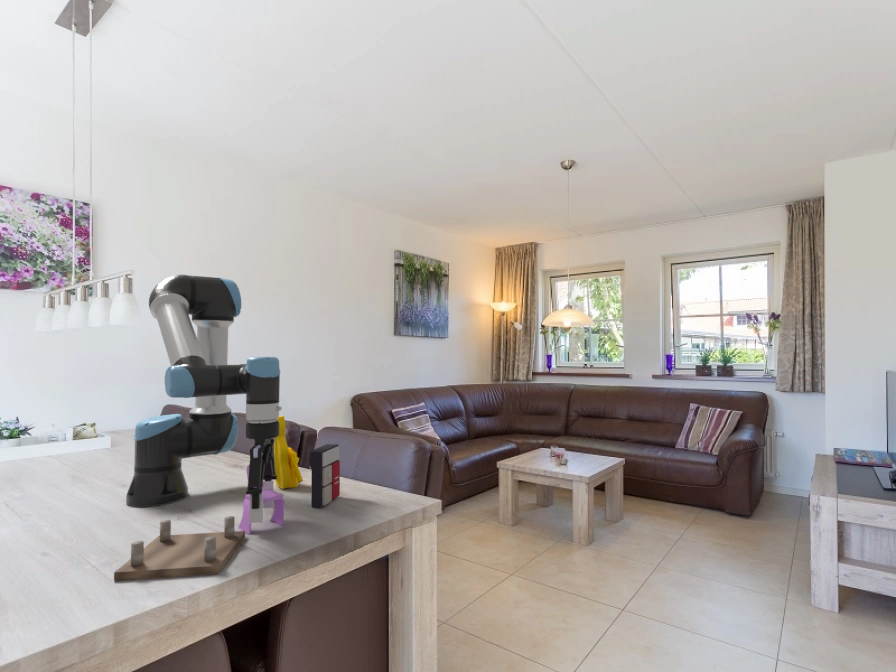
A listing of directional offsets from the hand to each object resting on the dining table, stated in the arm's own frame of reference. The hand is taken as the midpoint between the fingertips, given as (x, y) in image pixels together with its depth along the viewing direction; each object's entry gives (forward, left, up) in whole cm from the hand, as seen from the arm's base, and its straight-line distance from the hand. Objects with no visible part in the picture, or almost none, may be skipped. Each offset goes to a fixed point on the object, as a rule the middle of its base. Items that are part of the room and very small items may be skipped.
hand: (262, 514), depth 115 cm
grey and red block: (+13, +17, -3) cm, 22 cm away
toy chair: (0, 0, -3) cm, 3 cm away
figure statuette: (-1, +35, -3) cm, 35 cm away
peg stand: (-11, -16, -3) cm, 20 cm away
